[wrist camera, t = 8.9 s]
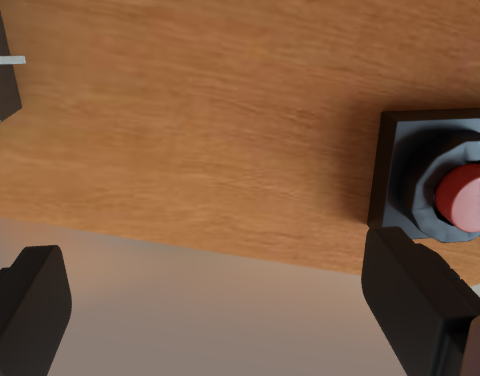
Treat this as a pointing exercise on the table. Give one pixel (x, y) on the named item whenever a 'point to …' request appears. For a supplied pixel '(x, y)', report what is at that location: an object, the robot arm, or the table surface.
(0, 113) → the knob base
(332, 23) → the table surface
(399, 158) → the black switch housing
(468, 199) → the power button
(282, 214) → the table surface
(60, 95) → the table surface
